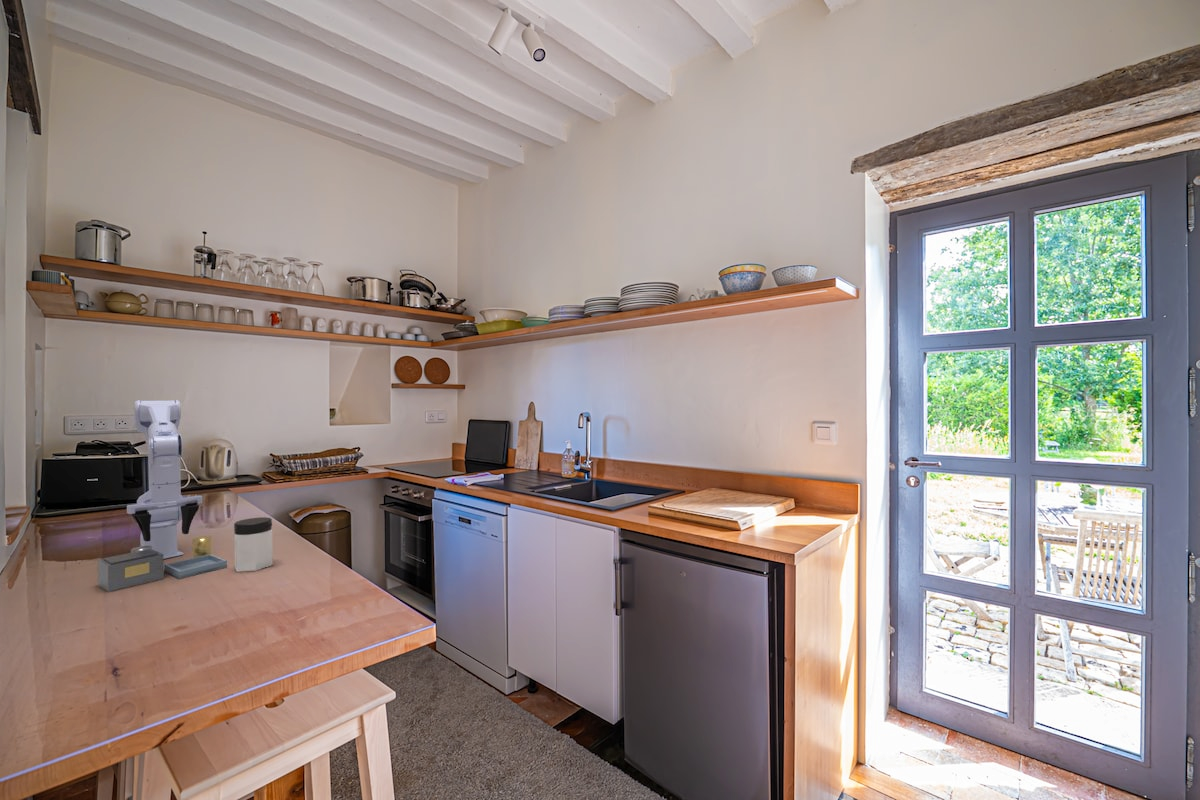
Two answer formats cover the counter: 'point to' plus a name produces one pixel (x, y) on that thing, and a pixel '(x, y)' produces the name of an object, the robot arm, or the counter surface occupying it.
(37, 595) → the counter surface
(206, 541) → the part brass
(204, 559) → the tray
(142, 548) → the part grey
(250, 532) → the jar
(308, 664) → the counter surface
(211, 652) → the counter surface
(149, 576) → the unit
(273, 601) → the counter surface
